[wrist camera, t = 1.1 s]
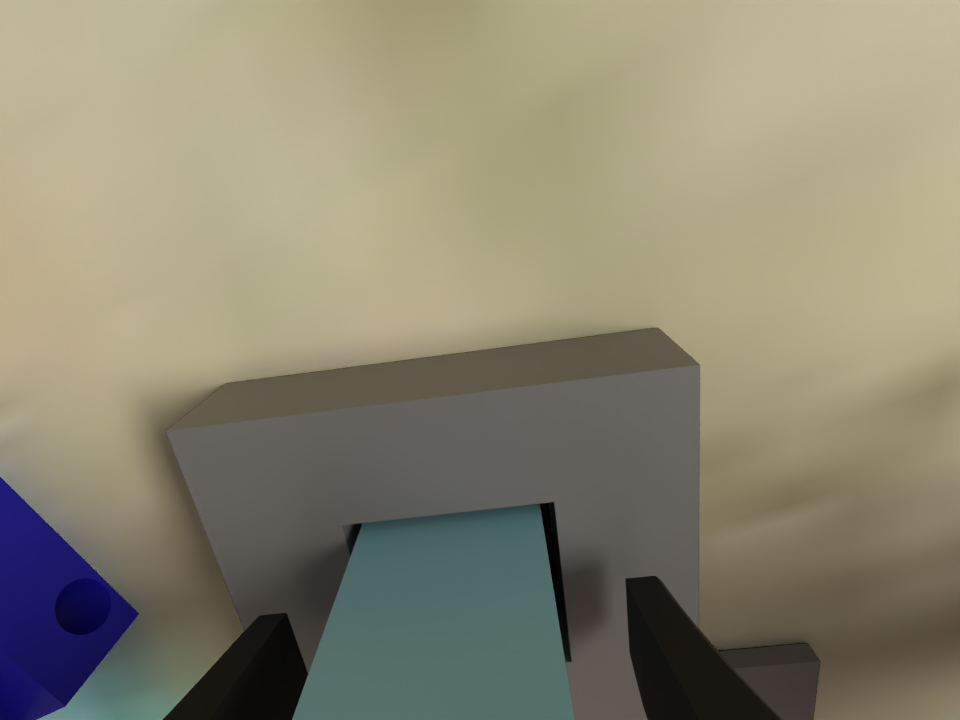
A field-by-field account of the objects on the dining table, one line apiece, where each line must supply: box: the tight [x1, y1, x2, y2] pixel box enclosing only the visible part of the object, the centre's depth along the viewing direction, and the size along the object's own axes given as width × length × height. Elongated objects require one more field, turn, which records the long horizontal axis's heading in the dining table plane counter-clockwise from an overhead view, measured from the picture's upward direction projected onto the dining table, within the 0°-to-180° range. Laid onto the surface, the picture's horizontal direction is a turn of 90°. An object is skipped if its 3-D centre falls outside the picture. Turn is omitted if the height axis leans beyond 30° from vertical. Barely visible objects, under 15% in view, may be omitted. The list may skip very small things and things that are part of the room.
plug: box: [292, 504, 574, 720], centre depth 10 cm, size 4×4×8 cm
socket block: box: [166, 328, 700, 720], centre depth 13 cm, size 11×10×2 cm
